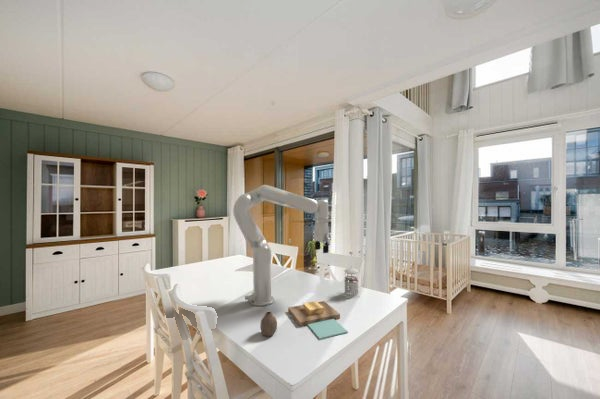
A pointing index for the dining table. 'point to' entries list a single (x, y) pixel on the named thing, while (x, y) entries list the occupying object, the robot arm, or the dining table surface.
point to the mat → (327, 328)
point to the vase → (268, 324)
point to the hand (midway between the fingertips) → (321, 251)
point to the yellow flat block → (313, 308)
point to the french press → (351, 283)
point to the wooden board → (305, 318)
